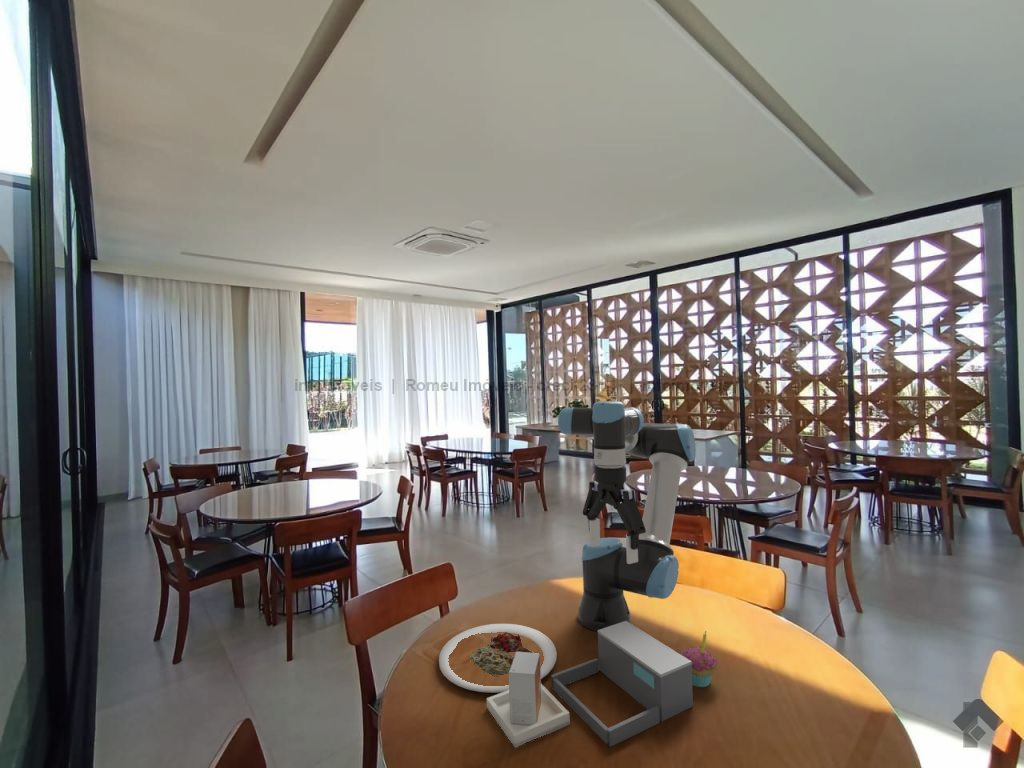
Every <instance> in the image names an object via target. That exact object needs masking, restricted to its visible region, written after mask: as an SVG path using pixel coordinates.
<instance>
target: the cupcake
mask: <svg viewBox="0 0 1024 768" xmlns="http://www.w3.org/2000/svg"><path fill="white" fill-rule="evenodd" d="M706 640H707V630H705V632H704V633H703V634H702V641H701V647H696V646H695V647H693V646H690V647H686V648H683V649H682V651H680V652H678V653H679V654H680V655H682V656H684V657H685V658H687V659H688V660H690V661H692V686H694V687H696V688H697V687H698V688H706V687H708V686H709V685H710V683H711V680H712V676H714V675H715V674H716V672H717V671H718V659H717V658H716V657H715V655H713V654H712V653H711V652H709V651H708V650H706V649H705V648H706V642H707V641H706Z"/></svg>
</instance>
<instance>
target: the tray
mask: <svg viewBox="0 0 1024 768" xmlns="http://www.w3.org/2000/svg"><path fill="white" fill-rule="evenodd" d="M487 708H488V709H489V711H490V712H491V714H492V715H493V717H494V718H495V719H496V721H497V723H498V724H499V726H500V727H501V728H500V727H499V726H498V727H499V728H500V730H501V729H502V730H503V731H504V733H505V734H506V735H505V734H504V733H503V734H504V735H505V737H506V736H507V737H508V738H507V737H506V738H507V739H509V740H510V741H511V742H510V741H509V740H508V741H509V742H510V744H511V743H512V744H513V745H512V744H511V745H512V746H514V747H517V746H519V745H522V744H524V743H526V742H529V741H531V740H533V739H536V738H538V737H540V738H542V737H544V735H545V736H547V735H549V734H551V733H553V732H554V733H555V732H556V731H557V730H560V729H562V728H565V727H567V726H569V725H571V724H570V723H571V722H570V720H571V719H570V712H569V710H568V709H566V708H565V707H564V705H562V704H561V702H560V701H559V700H558V699H557V698H556V697H555V696H554V695H553V694H552V693H551V692H550V691H549V690H548V688H546V687H545V686H544V685H543V684H542V683H541V706H540V710H539V715H538V720H537V723H535V724H533V725H526V724H516V723H511V722H510V701H509V690H508V691H505V692H499V693H497V694H495V695H491V696H489V697H487V698H486V709H487ZM491 714H490V715H491ZM493 717H492V718H493ZM496 721H495V722H496ZM497 723H496V724H497ZM498 724H497V725H498ZM502 730H501V731H502ZM503 731H502V732H503ZM546 734H547V735H546ZM541 736H542V737H541ZM538 739H539V738H538ZM536 740H537V739H536ZM533 741H534V740H533ZM531 742H532V741H531ZM529 743H530V742H529ZM524 745H525V744H524ZM522 746H523V745H522ZM514 747H513V748H514ZM517 748H518V747H517Z"/></svg>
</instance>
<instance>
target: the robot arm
mask: <svg viewBox="0 0 1024 768" xmlns="http://www.w3.org/2000/svg"><path fill="white" fill-rule="evenodd" d="M557 419H558V420H557V423H558V424H557V425H558V429H559V431H560V432H561V433H562V434H563V435H570V436H581V437H584V438H587V439H590V440H593V455H594V456H593V459H594V460H593V463H594V464H595V467H594V480H593V481H589V485H588V493H587V495H586V499H585V502H584V505H583V509H582V514H583V516H586V518H587V521H588V531H589V541H587V542H586V543H584V545H583V546H582V553H581V555H582V556H581V561H582V582H583V584H582V585H583V593H582V597H581V601H580V605H579V607H578V611H577V612H578V615H577V616H578V617H577V619H578V618H579V619H578V622H579V621H580V622H579V623H580V625H582V626H583V627H585V628H586V629H588V630H591V631H595V632H598V630H600V629H603V628H606V627H609V626H612V625H615V624H618V623H621V622H624V621H627V622H629V623H631V612H630V609H629V606H628V603H627V600H626V597H625V594H624V592H629V593H633V594H637V595H641V596H646V597H648V598H649V599H651V598H655V599H658V600H659V599H660V600H665V599H668V598H669V597H670V596H671V595H672V594H673V592H674V590H675V588H676V586H677V583H678V578H679V568H680V565H679V563H680V562H679V560H678V558H677V557H676V556H675V552H674V549H673V548H672V546H671V545H670V543H671V538H672V537H671V536H672V532H673V531H672V529H673V523H674V520H675V518H674V517H675V512H676V507H677V505H676V504H677V500H678V495H679V493H678V492H679V486H680V480H681V475H682V474H681V473H682V471H684V470H686V469H687V468H688V464H689V462H690V463H691V462H694V461H695V459H696V456H697V454H696V453H697V448H696V446H697V445H696V439H695V436H694V432H693V429H692V428H691V426H690V425H688V424H686V423H678V422H677V423H653V422H651V423H648V422H645V419H644V416H643V413H642V412H641V411H640V410H639V409H638V408H636V407H633V406H624V403H623V402H622V401H617V400H616V401H615V400H612V401H611V400H610V401H597V402H595V403H593V406H592V407H575V406H572V407H564V408H562V409H561V410H560V412H559V414H558V418H557ZM627 454H628V455H631V456H633V457H638V458H643V459H648V460H649V462H650V463H651V465H652V468H651V474H650V477H649V482H648V483H649V484H648V487H647V494H646V499H645V502H644V503H645V505H644V509H643V513H642V514H643V515H641V513H640V510H639V507H638V504H637V502H636V496H635V490H634V489H633V488H632V489H631V488H630V489H625V487H624V484H625V482H627V467H626V466H625V465H626V464H627ZM607 504H608V505H609V506H611V507H613V509H615V510H616V511H617V513H618V516H619V517H620V519H621V521H622V523H623V525H624V527H625V529H626V531H627V533H626V534H625V546H624V545H623V542H622V540H621V539H618V538H617V537H601V525H600V524H601V523H600V522H601V520H600V519H599V518H600V514H601V512H602V510H603V509H604V507H605V505H607Z"/></svg>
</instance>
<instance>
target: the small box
mask: <svg viewBox="0 0 1024 768" xmlns="http://www.w3.org/2000/svg"><path fill="white" fill-rule="evenodd" d="M541 684H542V679H541V669H540V654H539V653H528V652H515V656H514V659H513V662H512V665H511V668H510V670H509V701H510V722H511V723H516V724H526V725H533V724H535V723H537V720H538V715H539V710H540V706H541Z"/></svg>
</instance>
